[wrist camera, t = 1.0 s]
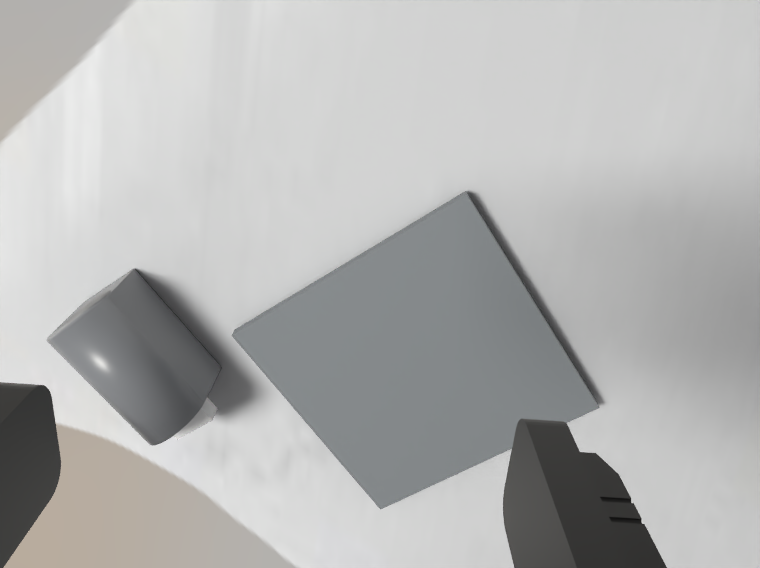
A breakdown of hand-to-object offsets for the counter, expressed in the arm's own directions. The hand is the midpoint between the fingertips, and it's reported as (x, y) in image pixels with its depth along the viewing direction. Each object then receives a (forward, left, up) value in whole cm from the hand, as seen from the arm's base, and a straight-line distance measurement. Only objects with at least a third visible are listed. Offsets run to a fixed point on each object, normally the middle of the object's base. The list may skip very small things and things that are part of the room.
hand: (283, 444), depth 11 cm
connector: (+15, +2, -20) cm, 25 cm away
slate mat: (+4, +11, -20) cm, 23 cm away
